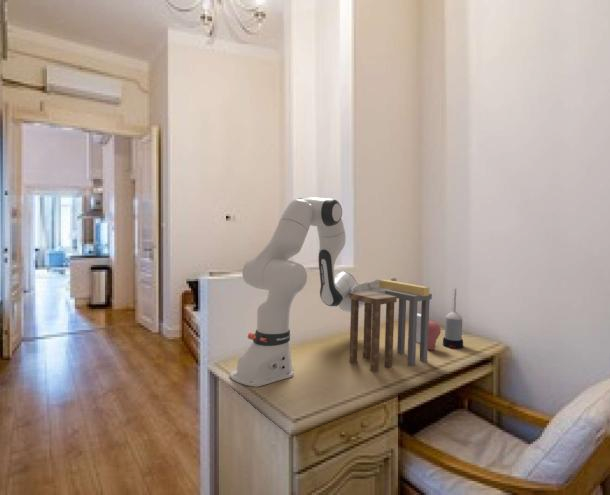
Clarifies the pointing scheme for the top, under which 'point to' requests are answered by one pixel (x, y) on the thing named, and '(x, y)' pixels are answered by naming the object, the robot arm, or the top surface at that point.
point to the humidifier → (453, 329)
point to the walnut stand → (373, 319)
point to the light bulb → (433, 334)
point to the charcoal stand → (412, 324)
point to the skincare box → (418, 328)
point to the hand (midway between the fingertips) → (387, 280)
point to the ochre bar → (404, 287)
